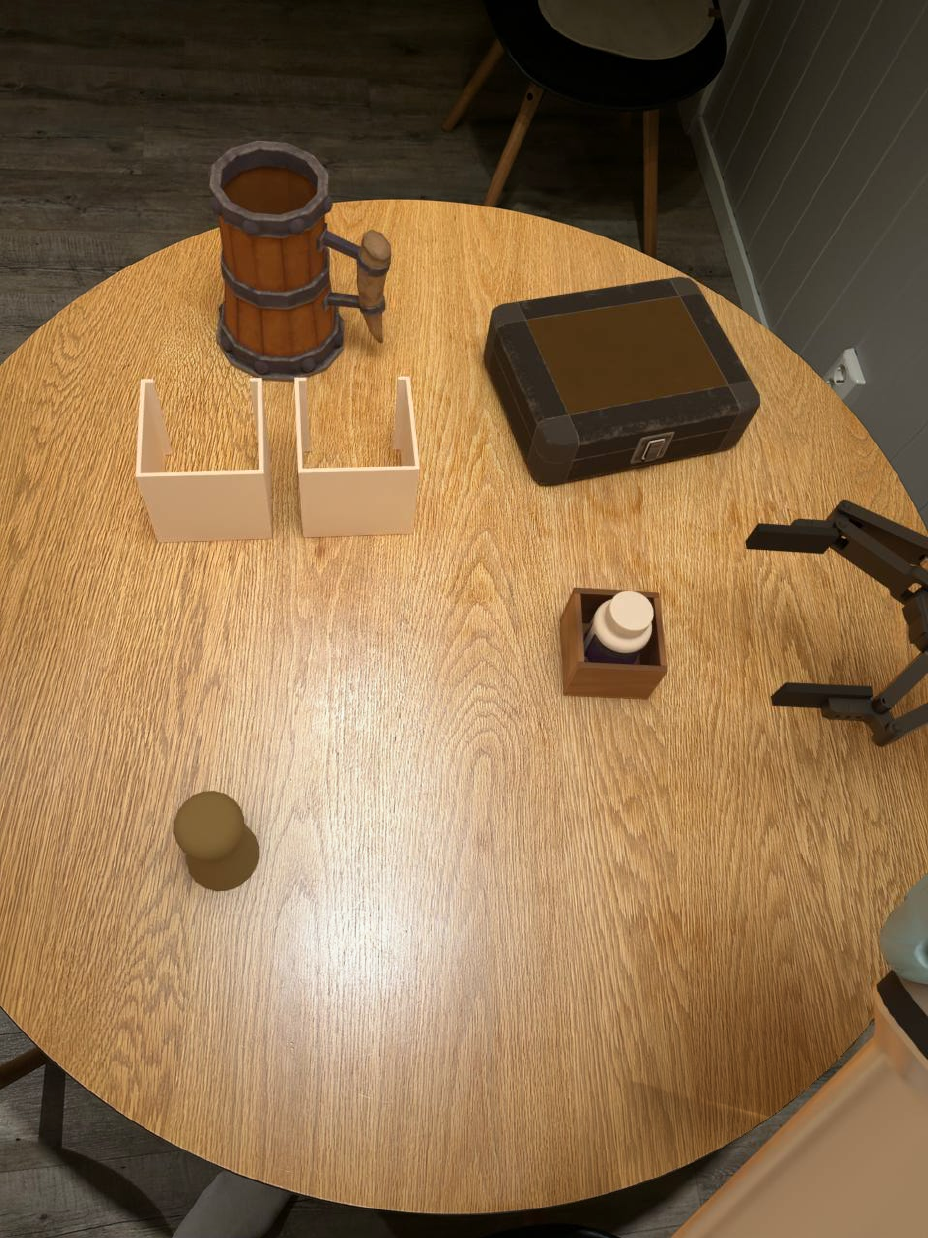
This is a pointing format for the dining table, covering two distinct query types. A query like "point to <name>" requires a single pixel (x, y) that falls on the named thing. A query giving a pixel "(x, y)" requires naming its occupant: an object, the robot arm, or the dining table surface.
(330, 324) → the mug
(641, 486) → the dining table surface
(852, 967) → the dining table surface
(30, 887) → the dining table surface
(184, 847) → the cork
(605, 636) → the pill bottle
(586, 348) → the cash box
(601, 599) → the wooden box
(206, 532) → the beige u-shaped pieces
